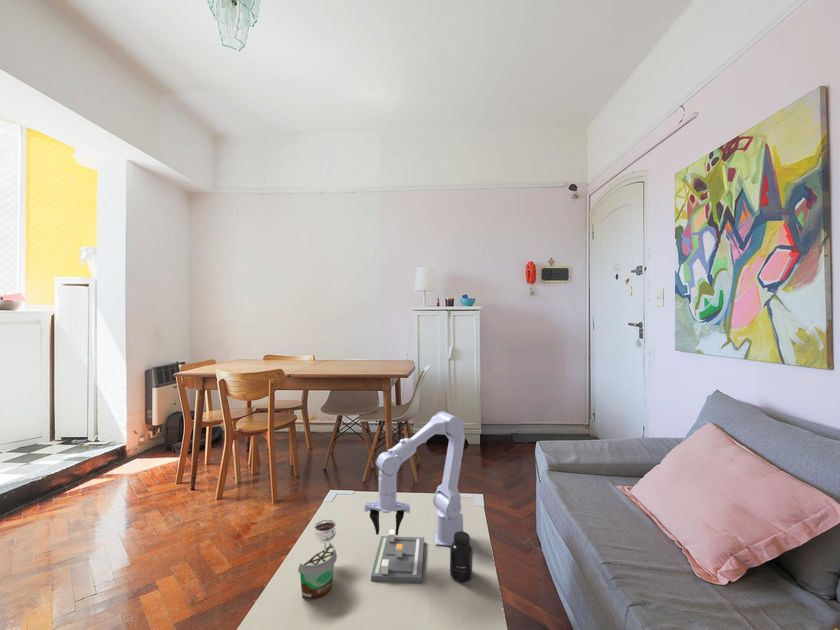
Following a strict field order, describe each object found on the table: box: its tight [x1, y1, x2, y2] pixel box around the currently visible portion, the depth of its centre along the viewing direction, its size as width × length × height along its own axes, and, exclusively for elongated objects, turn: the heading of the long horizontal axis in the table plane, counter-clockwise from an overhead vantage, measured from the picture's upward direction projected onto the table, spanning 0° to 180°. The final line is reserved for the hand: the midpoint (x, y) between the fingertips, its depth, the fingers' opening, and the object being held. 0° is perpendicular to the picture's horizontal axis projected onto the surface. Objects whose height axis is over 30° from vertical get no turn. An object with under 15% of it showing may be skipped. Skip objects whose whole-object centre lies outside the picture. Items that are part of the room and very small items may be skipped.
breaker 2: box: [387, 529, 396, 542], centre depth 128 cm, size 2×3×2 cm, turn 177°
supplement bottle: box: [449, 531, 474, 583], centre depth 113 cm, size 7×7×12 cm
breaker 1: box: [381, 559, 389, 574], centre depth 112 cm, size 2×3×2 cm, turn 177°
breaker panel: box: [370, 535, 425, 584], centre depth 120 cm, size 15×20×2 cm
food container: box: [297, 542, 338, 601], centre depth 106 cm, size 12×6×10 cm, turn 148°
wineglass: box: [313, 519, 337, 550], centre depth 118 cm, size 7×7×12 cm
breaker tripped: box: [396, 544, 403, 557], centre depth 120 cm, size 2×3×2 cm, turn 177°
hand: (387, 533), depth 120 cm, fingers open, 6 cm apart
